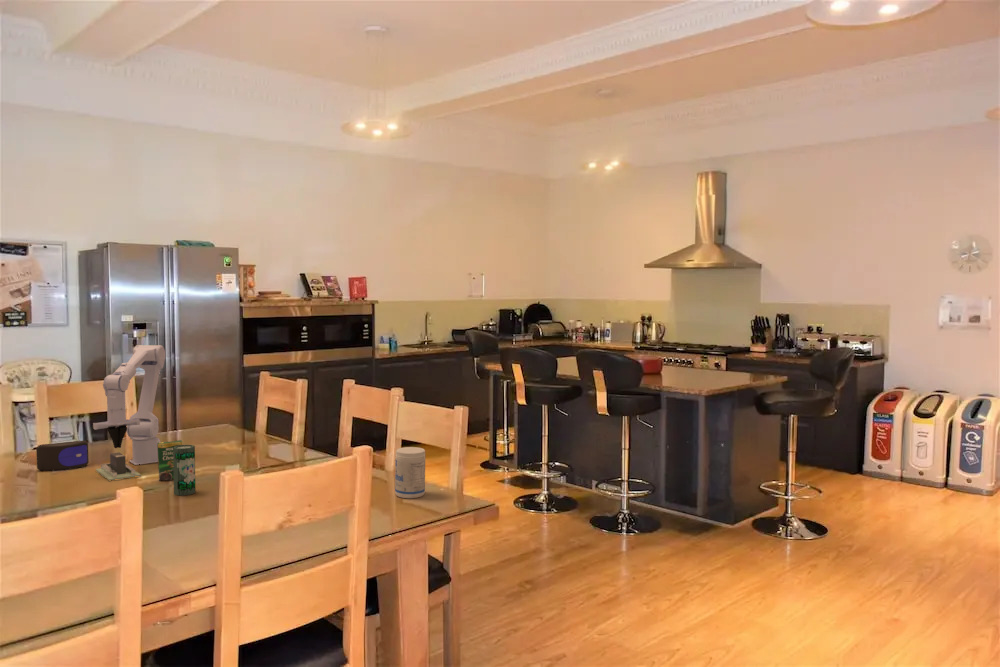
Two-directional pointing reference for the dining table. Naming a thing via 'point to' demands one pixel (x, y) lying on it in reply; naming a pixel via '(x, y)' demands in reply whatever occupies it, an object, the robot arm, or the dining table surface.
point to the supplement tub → (410, 472)
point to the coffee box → (166, 459)
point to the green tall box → (184, 469)
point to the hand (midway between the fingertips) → (117, 447)
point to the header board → (112, 475)
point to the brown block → (118, 463)
